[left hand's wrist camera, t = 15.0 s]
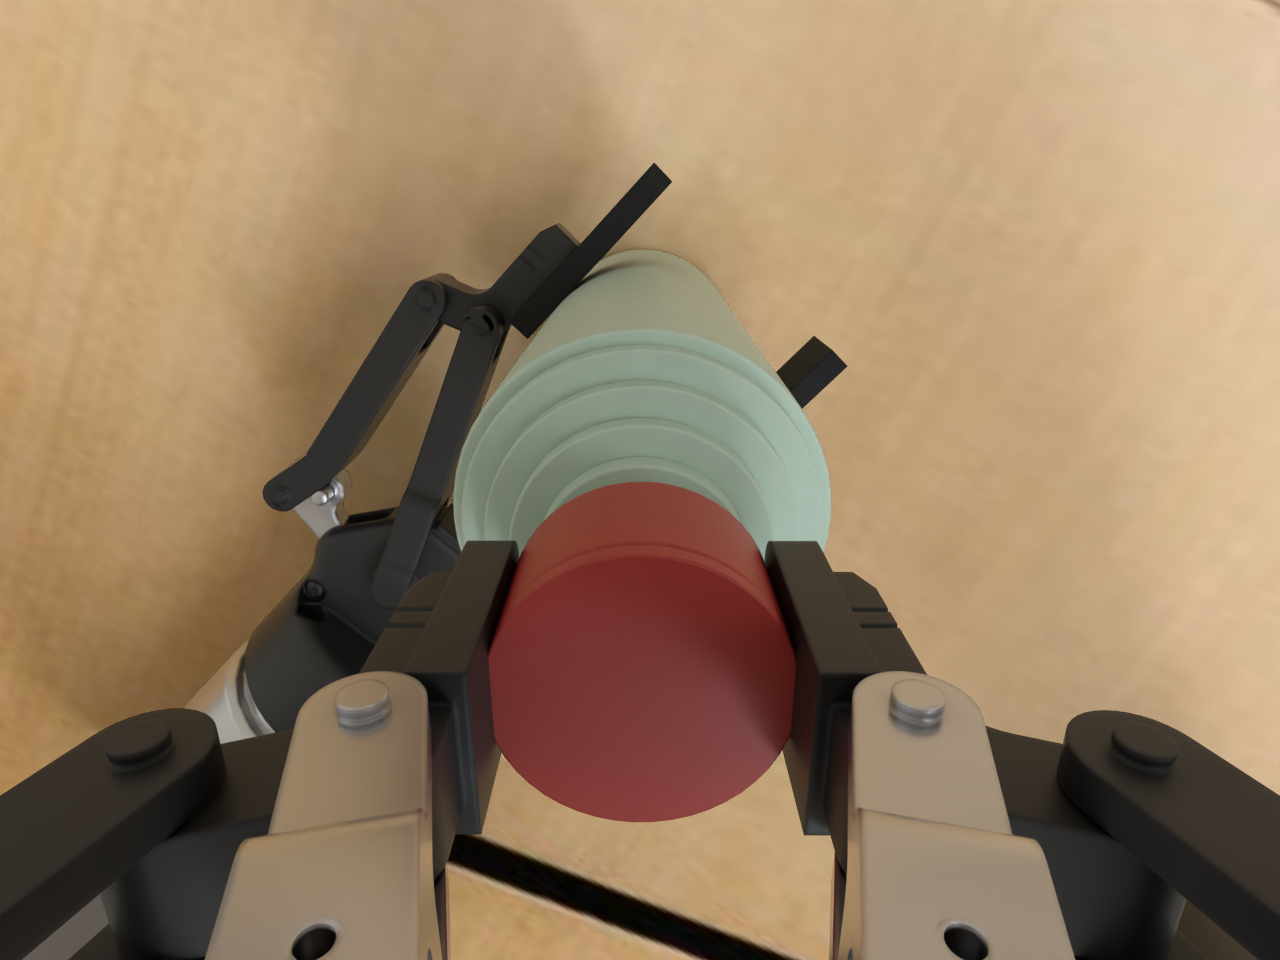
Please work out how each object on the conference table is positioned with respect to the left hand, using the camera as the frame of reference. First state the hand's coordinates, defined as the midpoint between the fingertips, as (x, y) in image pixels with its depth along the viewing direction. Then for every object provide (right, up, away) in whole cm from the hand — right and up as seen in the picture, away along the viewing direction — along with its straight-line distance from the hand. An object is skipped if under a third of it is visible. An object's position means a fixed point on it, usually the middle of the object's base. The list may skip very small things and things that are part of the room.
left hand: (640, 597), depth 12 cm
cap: (0, -1, -2) cm, 2 cm away
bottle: (0, +8, +20) cm, 22 cm away
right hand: (+4, +9, +13) cm, 16 cm away
